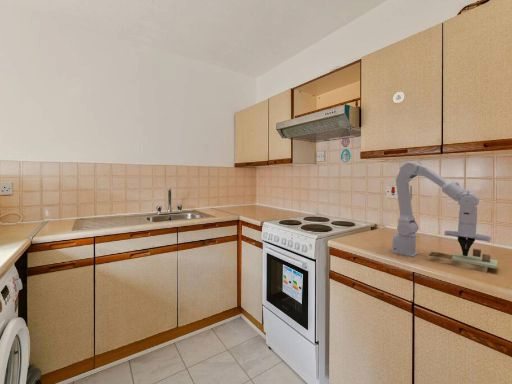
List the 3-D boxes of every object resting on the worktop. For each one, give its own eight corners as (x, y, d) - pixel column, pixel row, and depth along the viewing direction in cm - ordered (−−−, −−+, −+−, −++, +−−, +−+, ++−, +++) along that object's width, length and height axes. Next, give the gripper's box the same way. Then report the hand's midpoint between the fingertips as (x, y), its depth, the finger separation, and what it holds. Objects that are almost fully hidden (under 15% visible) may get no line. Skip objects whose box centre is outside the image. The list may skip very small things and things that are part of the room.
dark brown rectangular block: (472, 261, 109) (473, 248, 109) (480, 263, 108) (481, 249, 107) (472, 263, 108) (473, 249, 107) (479, 264, 106) (480, 250, 106)
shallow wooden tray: (426, 261, 110) (426, 255, 109) (431, 256, 117) (431, 251, 116) (486, 273, 96) (487, 267, 96) (488, 267, 103) (488, 261, 103)
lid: (451, 260, 103) (452, 251, 103) (455, 255, 110) (455, 247, 110) (496, 268, 94) (497, 259, 94) (497, 262, 100) (498, 254, 100)
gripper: (443, 221, 106) (441, 253, 106) (490, 227, 95) (488, 262, 96) (446, 219, 110) (445, 250, 111) (491, 224, 100) (489, 257, 101)
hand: (465, 255), depth 104 cm, fingers closed
